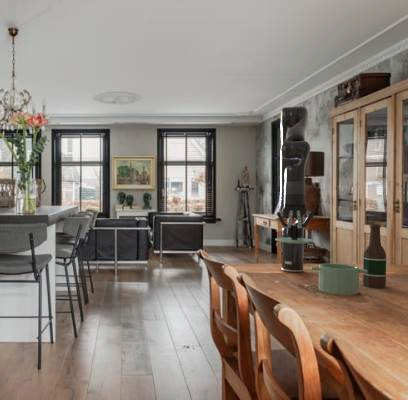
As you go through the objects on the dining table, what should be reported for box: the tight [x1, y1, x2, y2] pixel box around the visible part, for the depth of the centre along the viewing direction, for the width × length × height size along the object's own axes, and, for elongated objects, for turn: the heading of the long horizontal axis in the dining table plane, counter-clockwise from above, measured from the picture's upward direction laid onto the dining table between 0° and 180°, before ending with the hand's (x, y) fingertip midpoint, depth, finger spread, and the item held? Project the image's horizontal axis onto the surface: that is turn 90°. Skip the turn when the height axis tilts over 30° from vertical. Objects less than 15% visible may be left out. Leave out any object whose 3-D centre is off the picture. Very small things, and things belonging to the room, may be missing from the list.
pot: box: [310, 263, 367, 296], centre depth 159 cm, size 13×18×10 cm
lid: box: [275, 224, 315, 245], centre depth 169 cm, size 14×14×7 cm
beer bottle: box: [362, 223, 387, 289], centre depth 170 cm, size 8×8×24 cm
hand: (294, 237), depth 169 cm, fingers closed on lid, 2 cm apart
